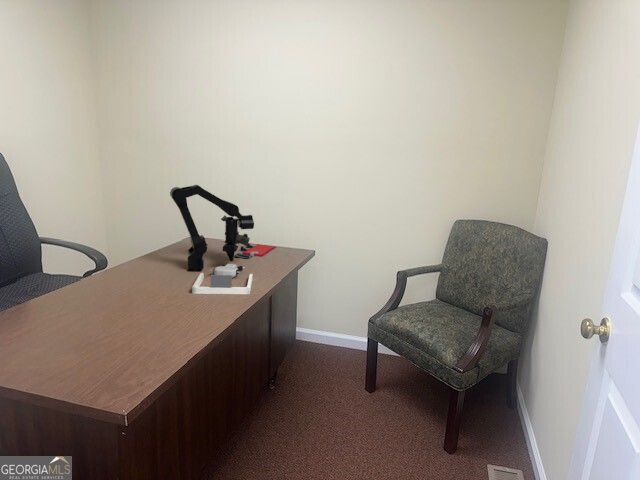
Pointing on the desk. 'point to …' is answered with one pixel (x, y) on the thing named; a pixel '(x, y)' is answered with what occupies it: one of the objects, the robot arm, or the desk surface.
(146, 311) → the desk surface
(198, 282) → the frame
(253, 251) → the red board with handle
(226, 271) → the robot toy
